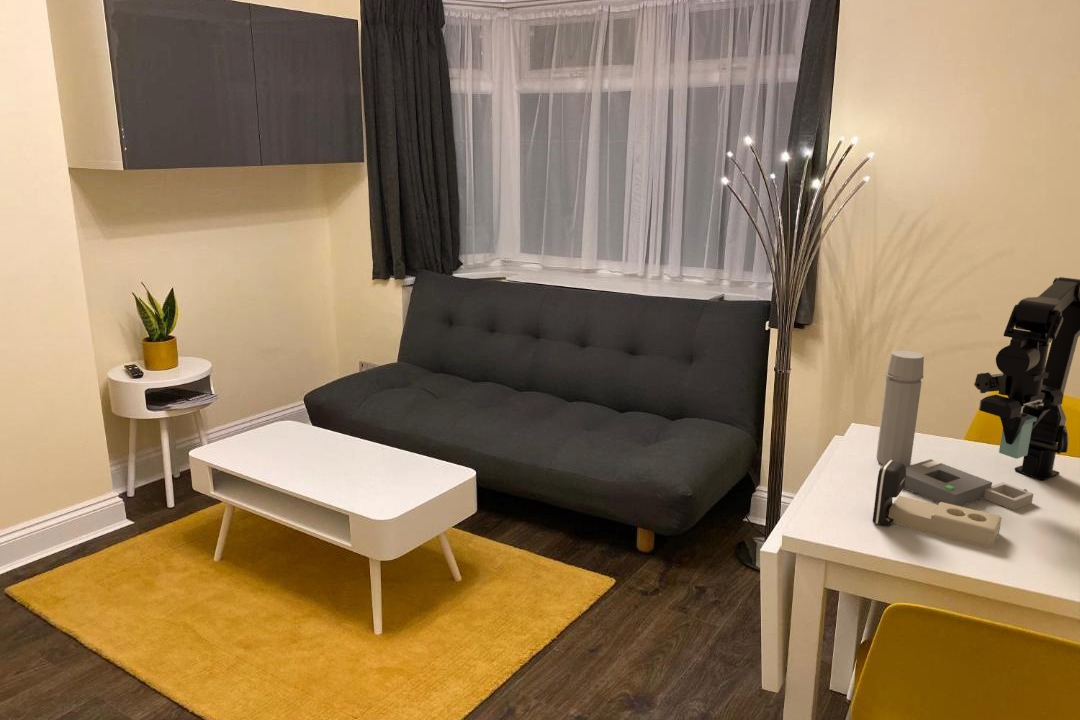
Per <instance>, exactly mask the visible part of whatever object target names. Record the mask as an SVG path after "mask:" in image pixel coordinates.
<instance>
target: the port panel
mask: <svg viewBox="0 0 1080 720" xmlns="http://www.w3.org/2000/svg"><path fill="white" fill-rule="evenodd" d="M992 486H993V482H992V481H990V480H987V479H984V478H982V477H979V476H977V475H974V474H971V473H970V472H969V473H968V472H966V471H963V470H961V469H957V468H955V467H952V466H950V465H946V464H944V463H942V462H941V461H938V460H934V459H932V458H930V459H927V460H923V461H920V462H917V463H913V464H911V465H910V464H909V465H908V466H906V480H905V487H904V488H905V489H904V488H903V489H904V490H907V489H908V490H907V491H909V492H912V493H915V494H916V493H917V494H916V495H919V496H922V497H923V498H926V499H929V500H930V501H933V502H936V503H937V504H939V502H944V503H948V504H952V505H956V506H961V507H964V506H965V505H968V504H971V503H975V502H978V501H979V500H983V499H984V492H985V489H987V488H990V487H992Z"/></svg>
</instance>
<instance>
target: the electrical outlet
mask: <svg viewBox="0 0 1080 720" xmlns="http://www.w3.org/2000/svg"><path fill="white" fill-rule="evenodd" d="M892 503H893V504H892V506H891V507H890V508H889V516H891V517H892V518H891V519H893V522H892V523H891V524H895V525H898V526H899V525H900V526H902V527H906V528H911V529H914V530H919V531H923V532H926V533H930V534H934V535H938V536H941V537H945V538H948V539H953V540H957V541H960V542H965V543H969V544H971V545H972V544H973V545H977V546H980V547H985V548H987V549H994V547H995V544H996V542H997V540H998V539H999V538H998V537H999V535H1000V529H1001V524H1002V516H1000V515H998V514H994V513H988V512H985V511H980V510H977V509H973V508H968V507H965V506H956V505H952V504H948V503H944V502H939V503H937V504H935V503H931V502H927V501H923V500H920V499H919V500H918V499H915V498H910V497H907V496H903V495H898V496H897V497H896V498H895V500H894V502H892ZM889 518H890V517H889Z"/></svg>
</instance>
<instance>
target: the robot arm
mask: <svg viewBox="0 0 1080 720" xmlns="http://www.w3.org/2000/svg"><path fill="white" fill-rule="evenodd" d="M1007 321H1008V322H1007V325H1006V326H1005V330H1004V332H1003V337H1006V338H1011V339H1010V342H1009V344H1008V345H1005V347H1003V348H1001V349H1000V350H999V351H998V352H997V354H996V356H995V364H996V367H997V369H998V370H999V371H1000V372H1001V373H998V374H997V373H996V374H991V372H982V373H977V374H976V377H975V381H974V383H973V385H974V387H975V388H976V389H977V390H979V393H980V394H986V393H990V392H992V393H993V392H998V394H992V395H988V396H985V397H983V398H982V399H980V402H979V405H978V406H979V408H978V410H979V411H980V412H984V413H986V414H990V415H993V416H995V417H999V419H1000V422H1001V425H1002V431H1004V435H1005V440H1006V443H1007V444H1013V442H1014V441H1015V439H1016V437H1017V435H1018V433H1019V432H1020V430H1021V428H1022V426H1023V424H1024V423H1025V421H1026V419H1027V417H1028V415H1031V416H1035V417H1037V421H1035V422H1033V425H1032V431H1031V436H1030V442H1029V448H1028V453H1027V456H1024V457H1022V459H1023V460H1022V464H1021V465H1019V466H1017V467H1014V471H1015V472H1019V473H1021V474H1024V475H1027V476H1029V477H1033V478H1035V479H1037V480H1038V479H1039V480H1040V481H1045V480H1049V479H1051V478H1054V477H1057V476H1059V475H1060V472H1059V471H1057V470H1054V465H1055V459H1056V454H1059V455H1060V454H1061V453H1065V454H1066V453H1068V449H1069V448H1068V447H1069V433H1068V428H1067V426H1066V423H1067V417H1066V414H1065V412H1064V409H1063V407H1062V404H1063V402H1064V401H1063V400H1064V393H1065V390H1066V386H1067V382H1068V378H1069V374H1070V370H1071V367H1072V363H1073V360H1074V356H1075V351H1076V347H1077V344H1078V339H1079V337H1080V279H1078V278H1071V277H1061V276H1060V277H1055V278H1054V279H1053V282H1052V284H1050V286H1049V287H1048V288H1046V289H1045V290H1044V291H1043V292H1042V293H1041V294H1039V295H1038V296H1033V297H1032V296H1031V297H1029V296H1028V297H1025V298H1023V299H1020V300H1019V302H1018V303H1017V304H1015V305H1014V307H1013V309H1012V311H1011V314H1010V317H1009V318H1008V320H1007ZM1023 413H1024V414H1023ZM1026 414H1028V415H1026Z"/></svg>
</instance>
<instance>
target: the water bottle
mask: <svg viewBox="0 0 1080 720" xmlns="http://www.w3.org/2000/svg"><path fill="white" fill-rule="evenodd" d="M924 358H925V356H924V355H923V354H922V353H920V352H918V351H912V350H902V349H901V350H893V351H891V353H890V356H889V360H888V365H887V368H886V369H887V370H886V372H884V373H883V375H884V377H885V386H884V391H883V392H884V393H883V399H882V400H883V402H882V409H881V416H880V417H881V418H880V424H879V432H878V433H879V434H878V441H877V450H876V455H875V457H876V460H877V462H878V463H879V464H881V465H883V464H884V463H885V462H886V461H887V460H893V461H895V462H900V463H903V464H904V465H905V467H907V466H910V464H911V463H912V456H913V448H914V440H915V433H916V427H917V426H916V425H917V419H918V412H919V411H918V410H919V403H920V396H921V389H922V379H924V367H925V366H924V364H925V363H924V360H925V359H924Z"/></svg>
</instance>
